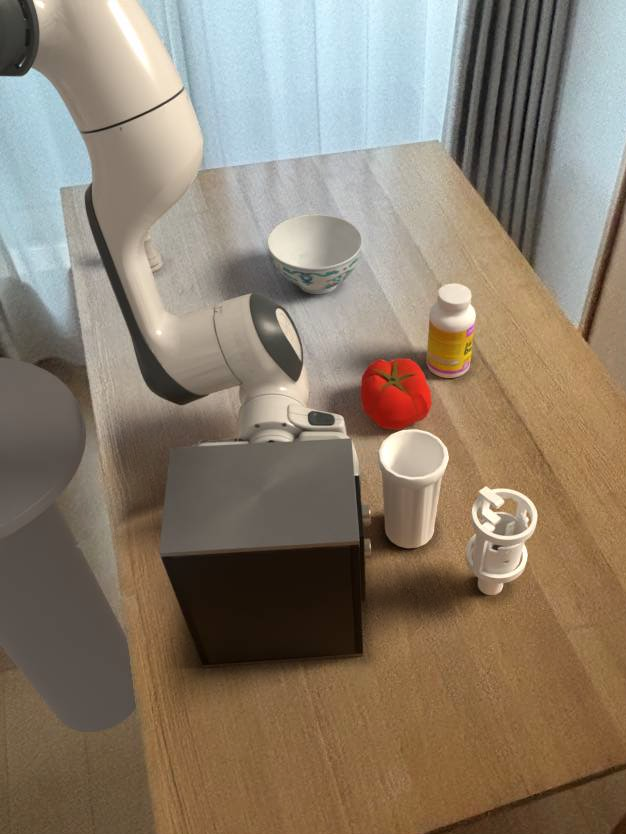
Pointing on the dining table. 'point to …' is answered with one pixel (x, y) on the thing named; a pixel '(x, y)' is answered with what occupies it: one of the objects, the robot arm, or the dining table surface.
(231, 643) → the oven
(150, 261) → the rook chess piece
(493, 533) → the white ringed cylindrical holder
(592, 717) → the dining table surface
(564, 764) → the dining table surface
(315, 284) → the chinaware
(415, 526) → the cup
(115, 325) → the dining table surface
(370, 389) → the tomato
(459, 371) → the supplement bottle
